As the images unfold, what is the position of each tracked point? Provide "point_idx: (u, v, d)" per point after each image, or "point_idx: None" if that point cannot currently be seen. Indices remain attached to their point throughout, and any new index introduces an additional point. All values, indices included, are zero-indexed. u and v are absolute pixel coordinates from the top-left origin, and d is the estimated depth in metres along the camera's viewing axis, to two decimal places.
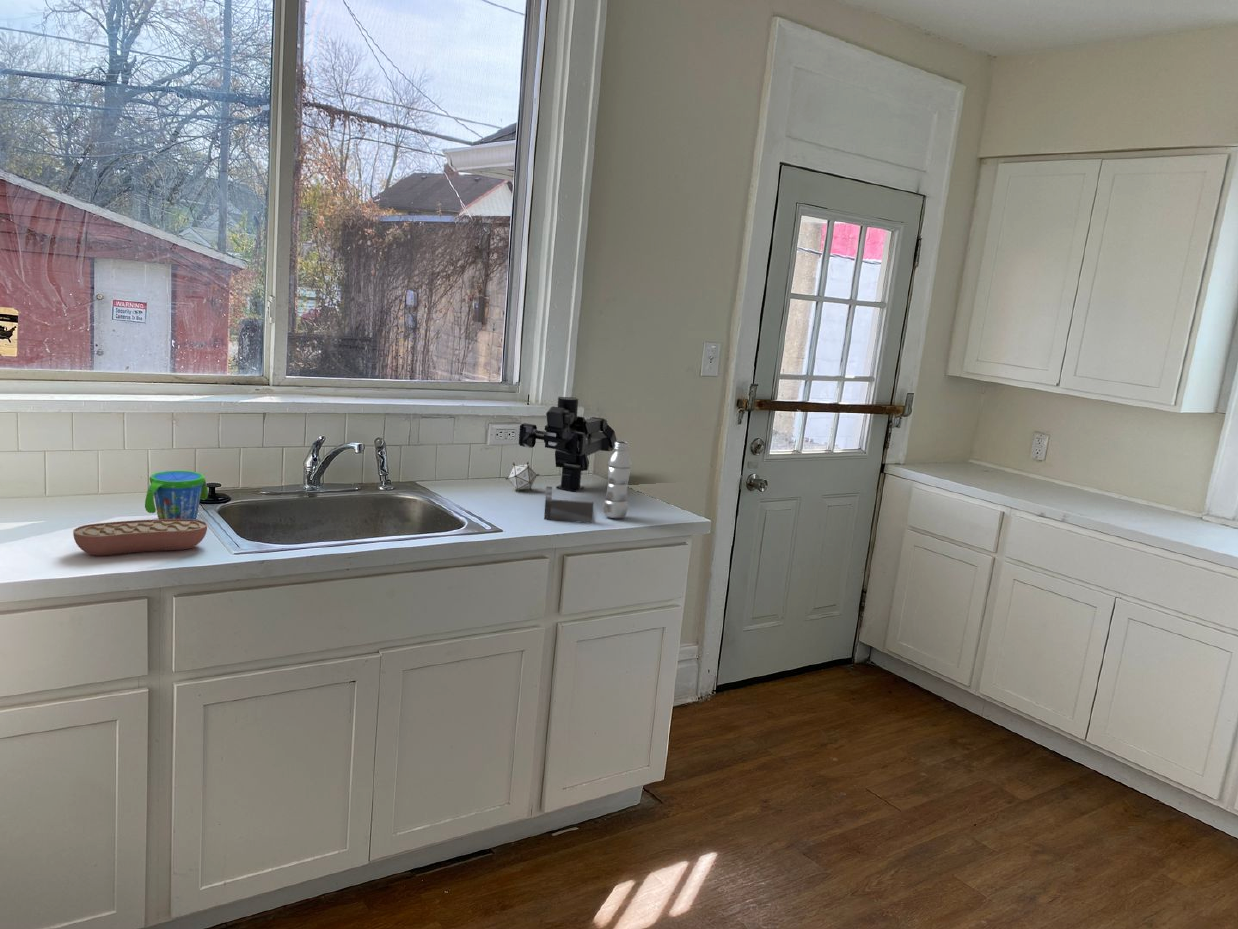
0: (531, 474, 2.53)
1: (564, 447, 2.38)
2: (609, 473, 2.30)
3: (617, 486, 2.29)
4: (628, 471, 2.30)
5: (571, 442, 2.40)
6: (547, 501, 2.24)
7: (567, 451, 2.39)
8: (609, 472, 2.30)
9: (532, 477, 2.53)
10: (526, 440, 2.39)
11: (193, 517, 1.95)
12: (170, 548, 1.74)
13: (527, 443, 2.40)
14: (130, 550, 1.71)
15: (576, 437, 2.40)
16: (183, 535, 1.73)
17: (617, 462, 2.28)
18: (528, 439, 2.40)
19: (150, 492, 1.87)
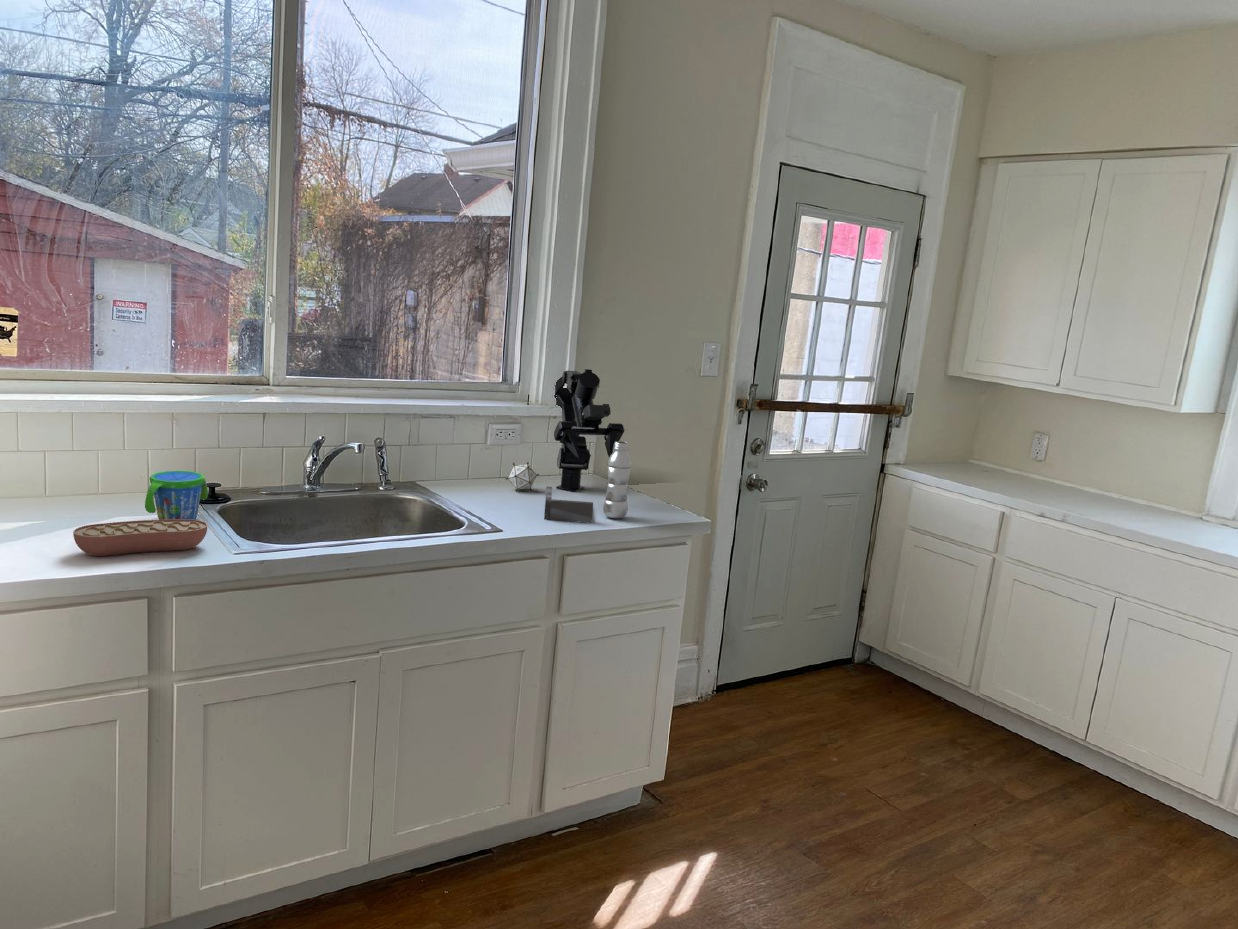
0: (531, 474, 2.53)
1: None
2: (609, 473, 2.30)
3: (617, 486, 2.29)
4: (628, 471, 2.30)
5: None
6: (547, 501, 2.24)
7: None
8: (609, 472, 2.30)
9: (532, 477, 2.53)
10: None
11: (193, 517, 1.95)
12: (170, 548, 1.74)
13: None
14: (130, 550, 1.70)
15: (619, 434, 2.44)
16: (183, 535, 1.73)
17: (617, 462, 2.28)
18: None
19: (150, 492, 1.87)
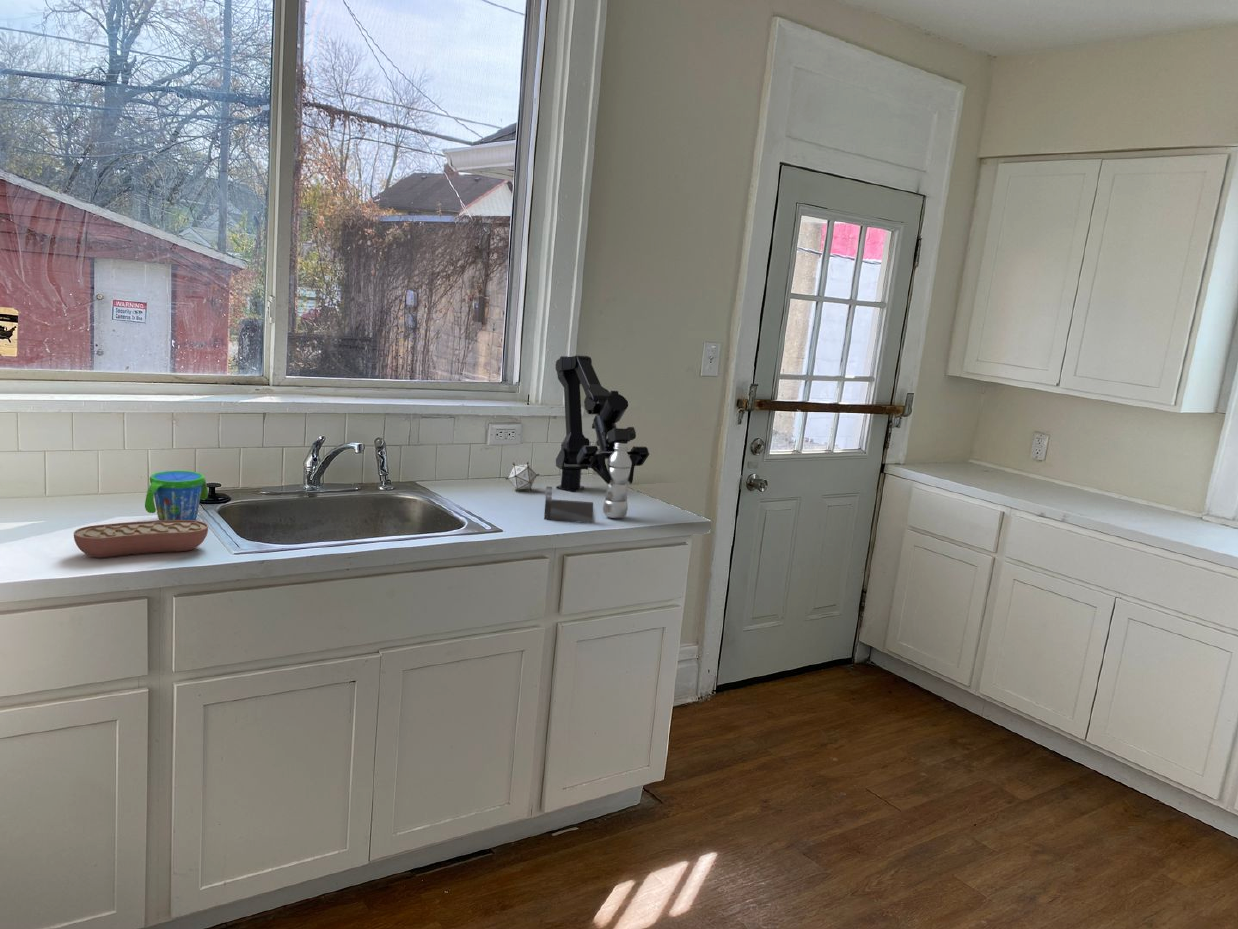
0: (531, 474, 2.53)
1: None
2: (609, 473, 2.30)
3: (617, 486, 2.29)
4: (628, 471, 2.30)
5: None
6: (547, 501, 2.24)
7: None
8: (609, 472, 2.30)
9: (532, 477, 2.53)
10: None
11: (193, 517, 1.95)
12: (171, 549, 1.74)
13: None
14: (131, 552, 1.70)
15: (639, 457, 2.35)
16: (184, 536, 1.73)
17: (616, 462, 2.28)
18: None
19: (150, 492, 1.87)
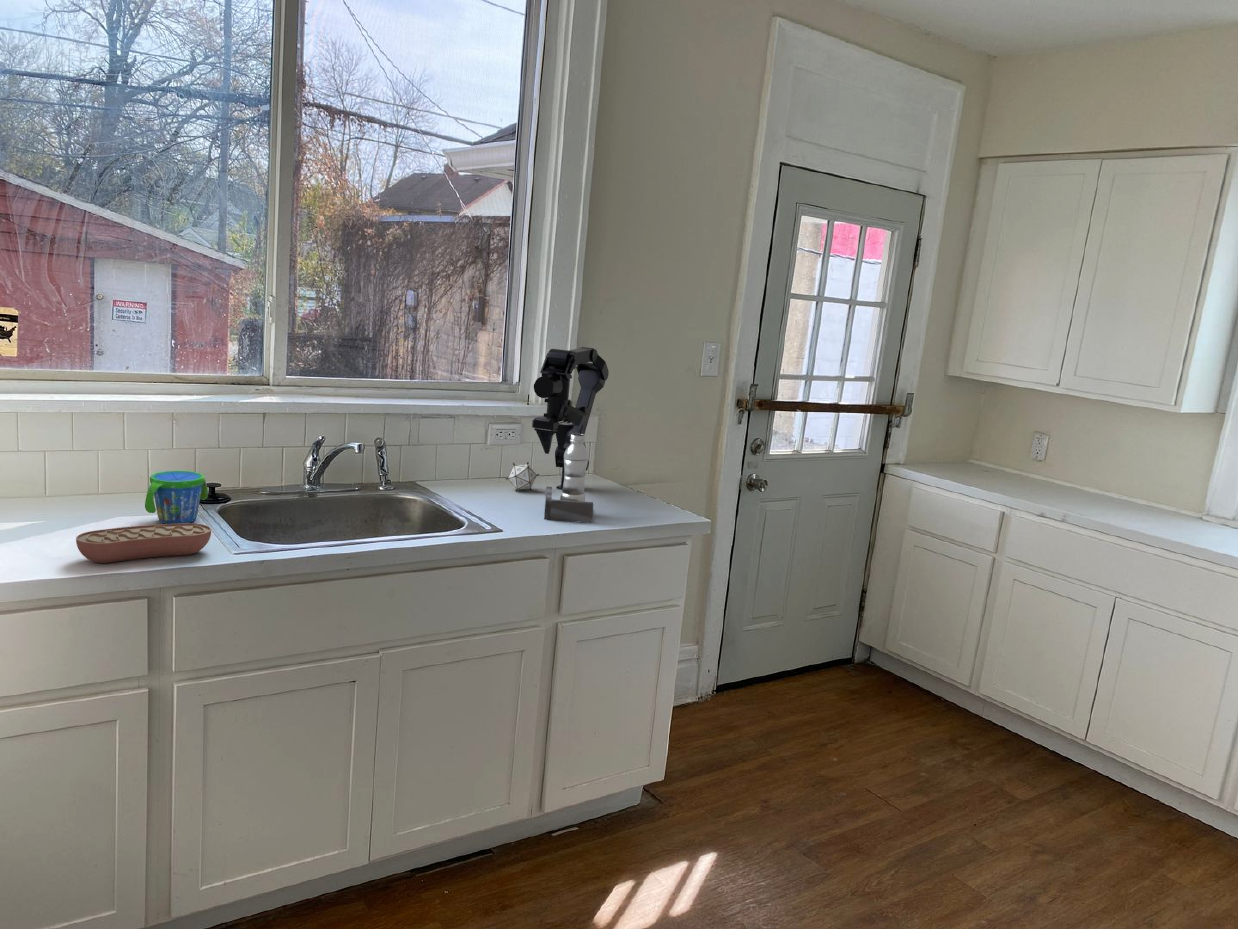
0: (531, 474, 2.53)
1: None
2: (564, 465, 2.30)
3: (570, 478, 2.29)
4: (582, 464, 2.28)
5: None
6: (547, 501, 2.24)
7: None
8: (564, 464, 2.30)
9: (532, 477, 2.53)
10: None
11: (193, 517, 1.95)
12: (175, 553, 1.72)
13: None
14: (135, 556, 1.67)
15: None
16: (189, 540, 1.71)
17: (569, 454, 2.27)
18: None
19: (150, 492, 1.87)
